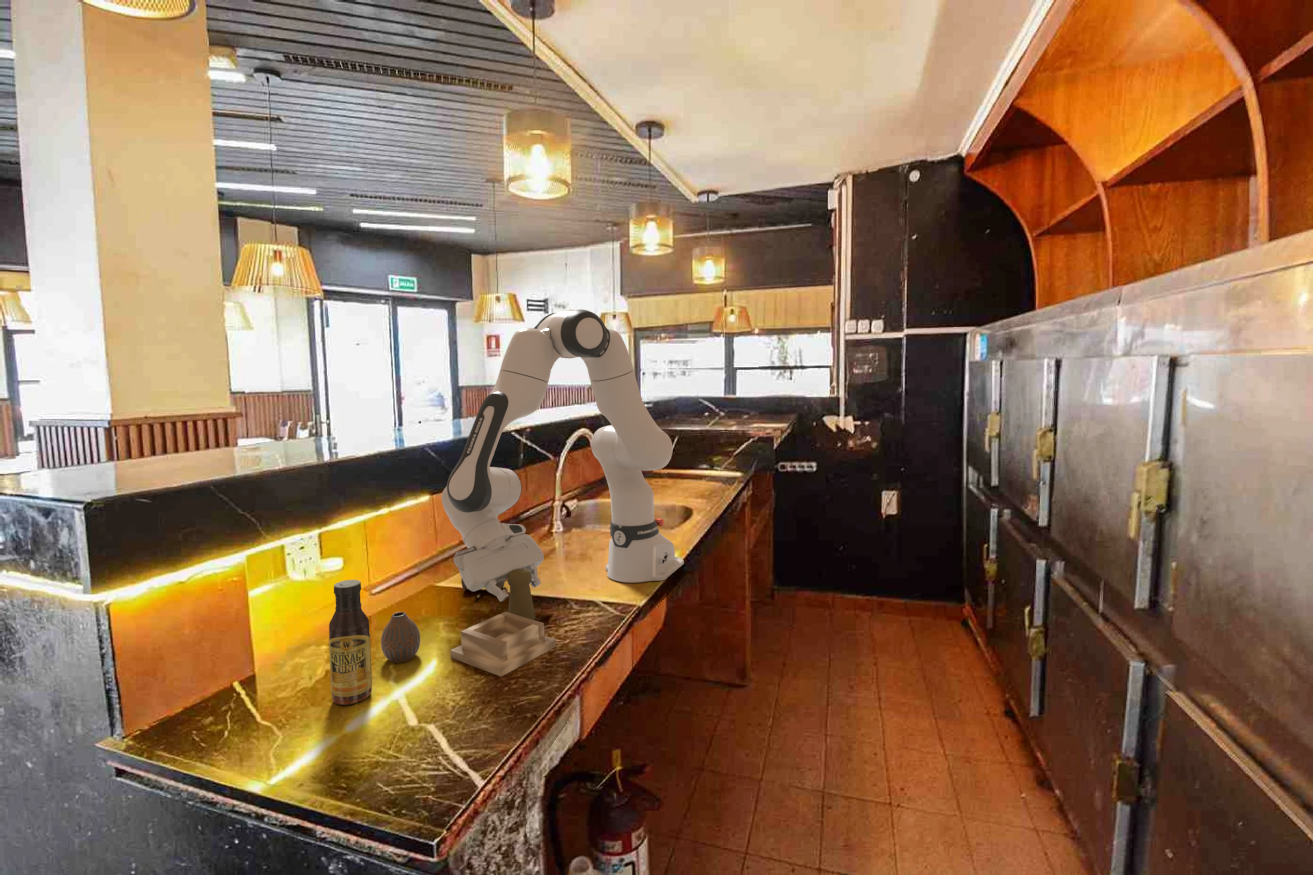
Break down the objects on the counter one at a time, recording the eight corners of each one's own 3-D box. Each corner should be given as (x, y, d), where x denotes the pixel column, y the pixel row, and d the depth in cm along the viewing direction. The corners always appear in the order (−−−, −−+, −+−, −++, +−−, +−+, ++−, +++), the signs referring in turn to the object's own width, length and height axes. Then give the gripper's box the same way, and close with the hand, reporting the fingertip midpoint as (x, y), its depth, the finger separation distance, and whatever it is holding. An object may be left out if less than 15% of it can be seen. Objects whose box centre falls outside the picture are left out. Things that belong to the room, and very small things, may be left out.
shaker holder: (506, 630, 130) (505, 607, 130) (556, 646, 122) (554, 621, 122) (450, 657, 119) (449, 632, 118) (500, 676, 111) (499, 649, 110)
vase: (429, 654, 121) (426, 610, 120) (398, 669, 115) (394, 624, 114) (405, 647, 124) (402, 604, 123) (374, 661, 118) (370, 617, 117)
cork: (529, 625, 133) (526, 575, 132) (502, 623, 134) (499, 574, 133) (539, 614, 139) (537, 566, 137) (514, 612, 140) (511, 565, 139)
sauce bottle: (328, 710, 101) (317, 592, 99) (336, 691, 107) (326, 579, 105) (372, 703, 103) (362, 587, 101) (377, 685, 109) (368, 575, 107)
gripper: (455, 545, 130) (490, 599, 125) (528, 523, 146) (560, 570, 142) (443, 562, 133) (476, 616, 128) (516, 539, 150) (547, 586, 145)
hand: (521, 592), depth 135 cm, fingers open, 8 cm apart
